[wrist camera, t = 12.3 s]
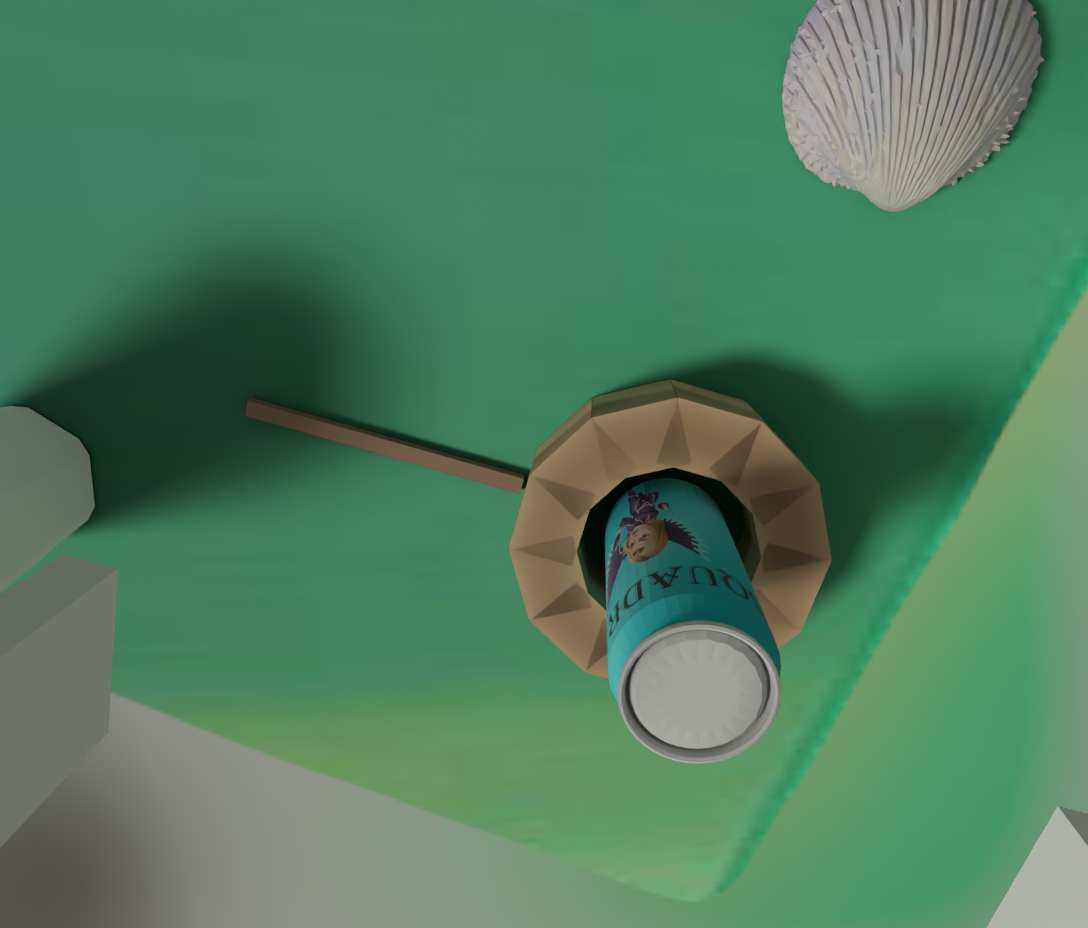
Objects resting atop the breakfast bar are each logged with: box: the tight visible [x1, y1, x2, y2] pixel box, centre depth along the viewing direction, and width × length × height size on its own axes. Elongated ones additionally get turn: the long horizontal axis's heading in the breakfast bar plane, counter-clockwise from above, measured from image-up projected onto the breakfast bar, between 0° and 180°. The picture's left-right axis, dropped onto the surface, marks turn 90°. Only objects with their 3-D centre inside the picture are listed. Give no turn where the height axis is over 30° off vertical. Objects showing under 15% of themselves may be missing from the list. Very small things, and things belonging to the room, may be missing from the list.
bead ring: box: [509, 379, 832, 679], centre depth 37 cm, size 14×14×4 cm
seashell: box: [782, 0, 1044, 212], centre depth 31 cm, size 10×6×10 cm
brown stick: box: [245, 398, 525, 494], centre depth 38 cm, size 1×14×1 cm, turn 75°
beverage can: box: [605, 478, 781, 763], centre depth 32 cm, size 6×6×15 cm
